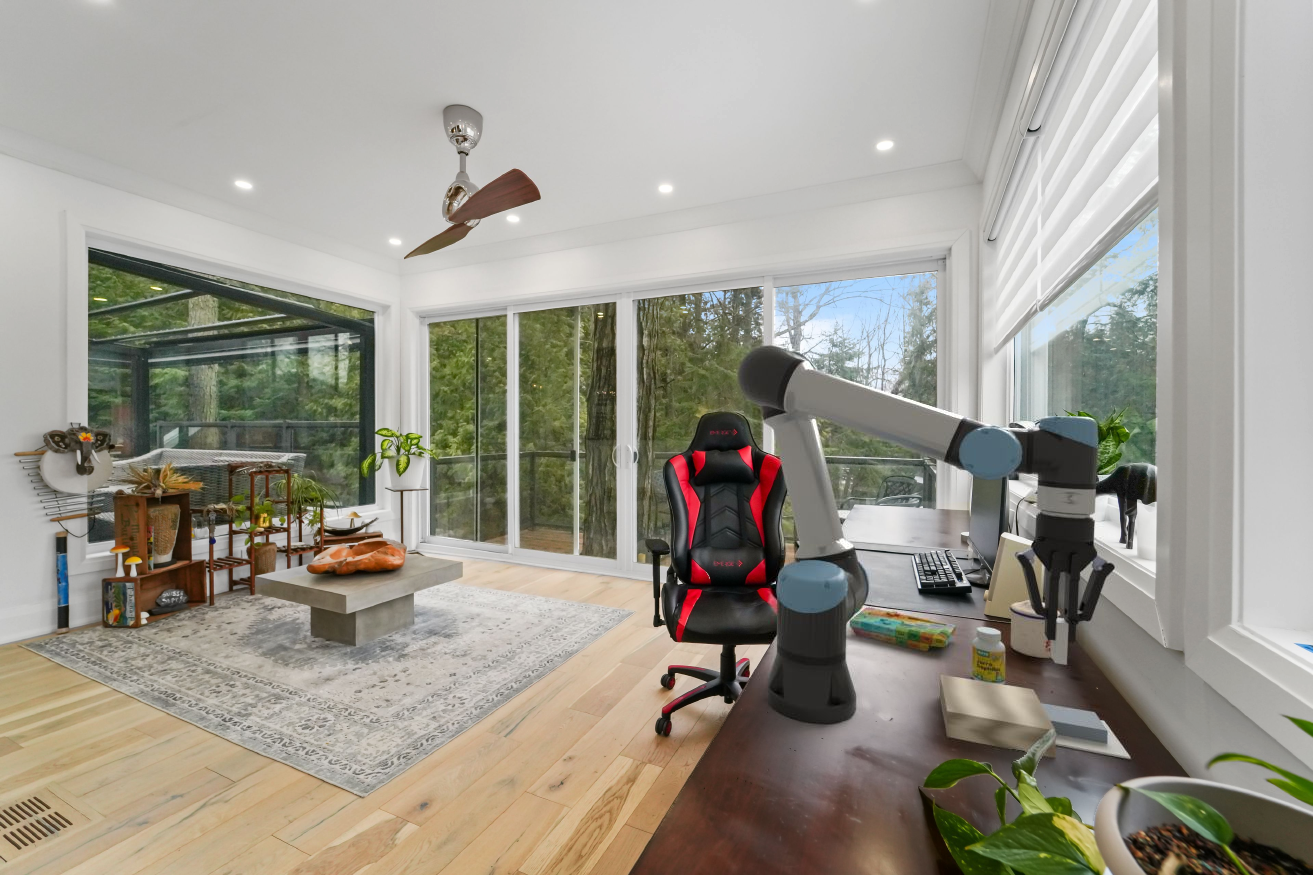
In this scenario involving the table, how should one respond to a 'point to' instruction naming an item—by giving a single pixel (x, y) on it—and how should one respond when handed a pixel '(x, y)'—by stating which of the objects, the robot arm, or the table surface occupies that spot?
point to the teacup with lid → (1029, 631)
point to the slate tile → (1076, 723)
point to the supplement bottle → (988, 656)
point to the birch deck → (993, 714)
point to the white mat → (1095, 744)
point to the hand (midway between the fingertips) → (1058, 660)
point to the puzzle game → (901, 629)
